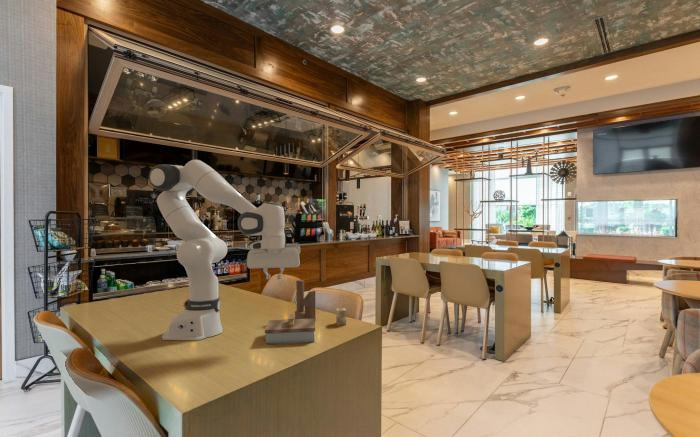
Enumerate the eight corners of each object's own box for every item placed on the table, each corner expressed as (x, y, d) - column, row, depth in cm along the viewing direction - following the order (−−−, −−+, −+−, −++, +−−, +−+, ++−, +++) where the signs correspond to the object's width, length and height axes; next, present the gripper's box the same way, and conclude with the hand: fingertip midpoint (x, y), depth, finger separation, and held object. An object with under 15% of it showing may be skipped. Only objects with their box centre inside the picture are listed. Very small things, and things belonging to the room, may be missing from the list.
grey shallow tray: (265, 344, 127) (265, 333, 127) (269, 333, 139) (269, 323, 139) (314, 341, 129) (314, 331, 130) (314, 331, 141) (314, 322, 141)
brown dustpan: (309, 323, 153) (309, 283, 153) (294, 319, 160) (294, 280, 160) (316, 321, 156) (315, 282, 156) (300, 317, 163) (300, 279, 163)
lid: (264, 333, 127) (264, 321, 127) (269, 323, 140) (268, 312, 140) (315, 331, 129) (315, 319, 129) (314, 321, 142) (314, 311, 142)
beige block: (337, 325, 149) (336, 310, 150) (336, 322, 153) (336, 308, 154) (346, 325, 150) (346, 310, 150) (345, 322, 154) (345, 308, 154)
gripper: (300, 242, 138) (301, 277, 138) (248, 243, 136) (249, 278, 136) (300, 243, 132) (300, 279, 132) (245, 244, 130) (246, 281, 130)
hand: (274, 279), depth 134 cm, fingers open, 3 cm apart
